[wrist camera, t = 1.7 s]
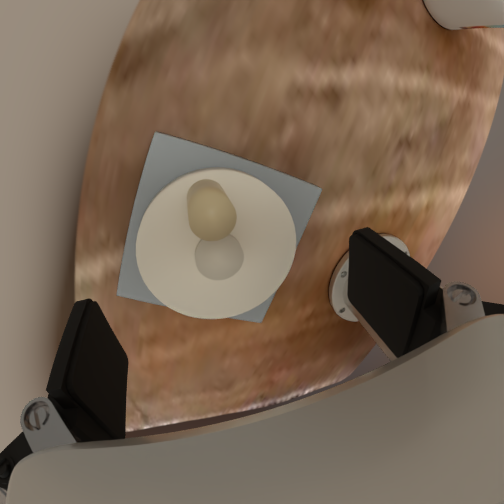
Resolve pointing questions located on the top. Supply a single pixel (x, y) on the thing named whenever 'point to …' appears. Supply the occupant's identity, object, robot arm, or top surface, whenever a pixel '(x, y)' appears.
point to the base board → (190, 159)
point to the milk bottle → (467, 13)
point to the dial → (215, 243)
